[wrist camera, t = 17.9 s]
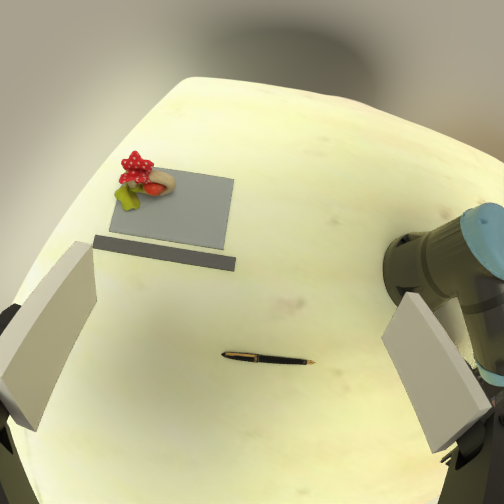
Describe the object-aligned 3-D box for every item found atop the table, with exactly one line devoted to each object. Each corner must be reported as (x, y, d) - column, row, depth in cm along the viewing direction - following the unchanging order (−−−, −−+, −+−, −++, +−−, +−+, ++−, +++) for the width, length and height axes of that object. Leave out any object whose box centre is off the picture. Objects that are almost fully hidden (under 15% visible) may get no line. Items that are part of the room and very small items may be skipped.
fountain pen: (315, 358, 44) (319, 359, 43) (314, 366, 44) (318, 366, 43) (220, 350, 42) (221, 350, 41) (219, 358, 42) (220, 358, 41)
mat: (245, 182, 50) (246, 181, 50) (233, 271, 46) (234, 270, 45) (118, 164, 47) (117, 162, 47) (93, 248, 43) (92, 247, 42)
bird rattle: (163, 181, 49) (111, 174, 44) (189, 146, 41) (127, 134, 36) (163, 216, 48) (108, 210, 43) (189, 185, 39) (122, 175, 34)
